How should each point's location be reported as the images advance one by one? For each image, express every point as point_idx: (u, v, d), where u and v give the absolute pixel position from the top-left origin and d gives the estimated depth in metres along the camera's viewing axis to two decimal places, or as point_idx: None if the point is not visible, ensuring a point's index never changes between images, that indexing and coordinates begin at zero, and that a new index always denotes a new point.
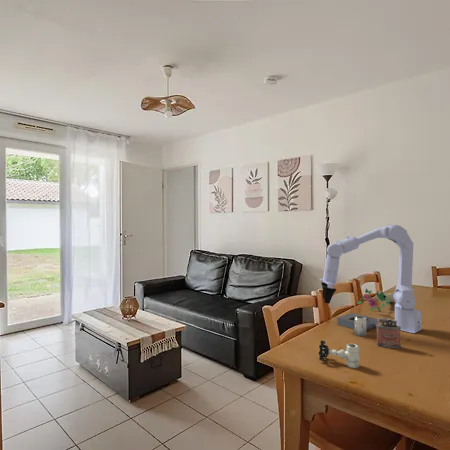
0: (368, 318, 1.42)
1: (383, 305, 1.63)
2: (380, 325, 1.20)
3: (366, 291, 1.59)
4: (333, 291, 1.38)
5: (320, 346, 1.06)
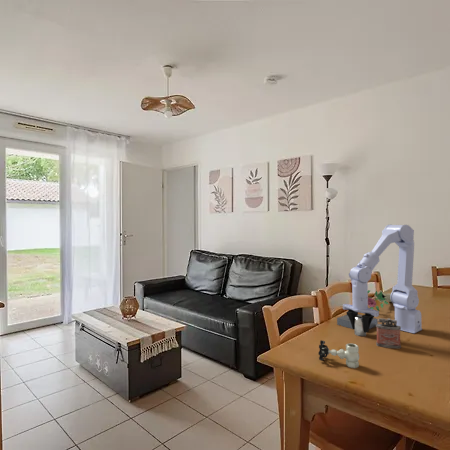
0: None
1: (382, 305, 1.63)
2: (380, 325, 1.20)
3: None
4: (372, 317, 1.29)
5: (320, 346, 1.06)
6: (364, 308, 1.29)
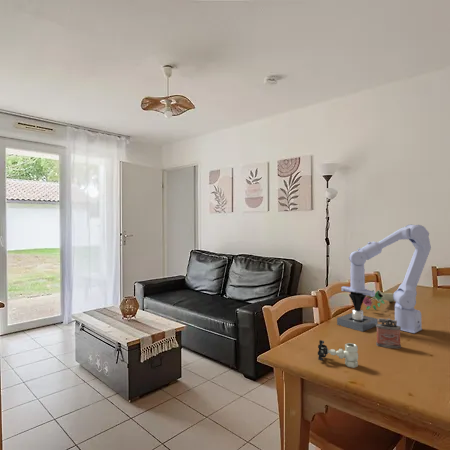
0: (368, 318, 1.42)
1: (379, 304, 1.65)
2: (380, 325, 1.20)
3: None
4: (364, 297, 1.41)
5: (319, 346, 1.06)
6: (361, 289, 1.38)
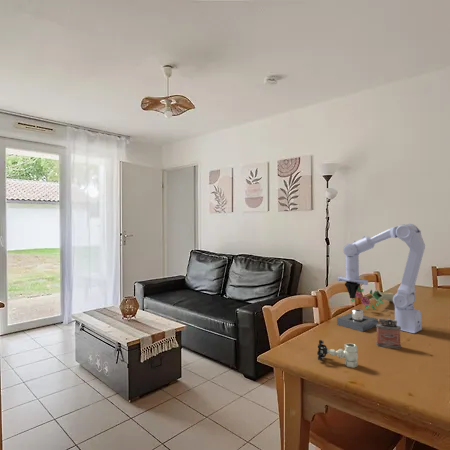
0: (368, 318, 1.42)
1: (377, 304, 1.65)
2: (380, 325, 1.20)
3: (358, 289, 1.63)
4: (358, 285, 1.52)
5: (319, 346, 1.06)
6: (355, 278, 1.50)
